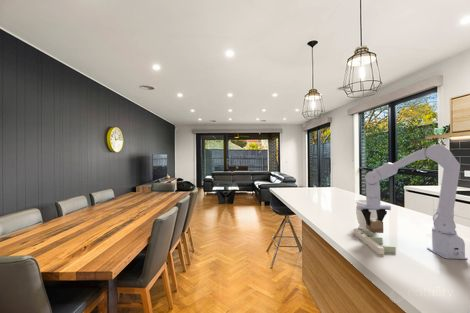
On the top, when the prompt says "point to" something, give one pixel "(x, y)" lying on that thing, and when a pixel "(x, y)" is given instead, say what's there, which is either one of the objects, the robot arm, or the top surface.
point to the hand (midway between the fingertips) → (373, 224)
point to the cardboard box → (375, 226)
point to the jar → (361, 217)
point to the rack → (374, 242)
